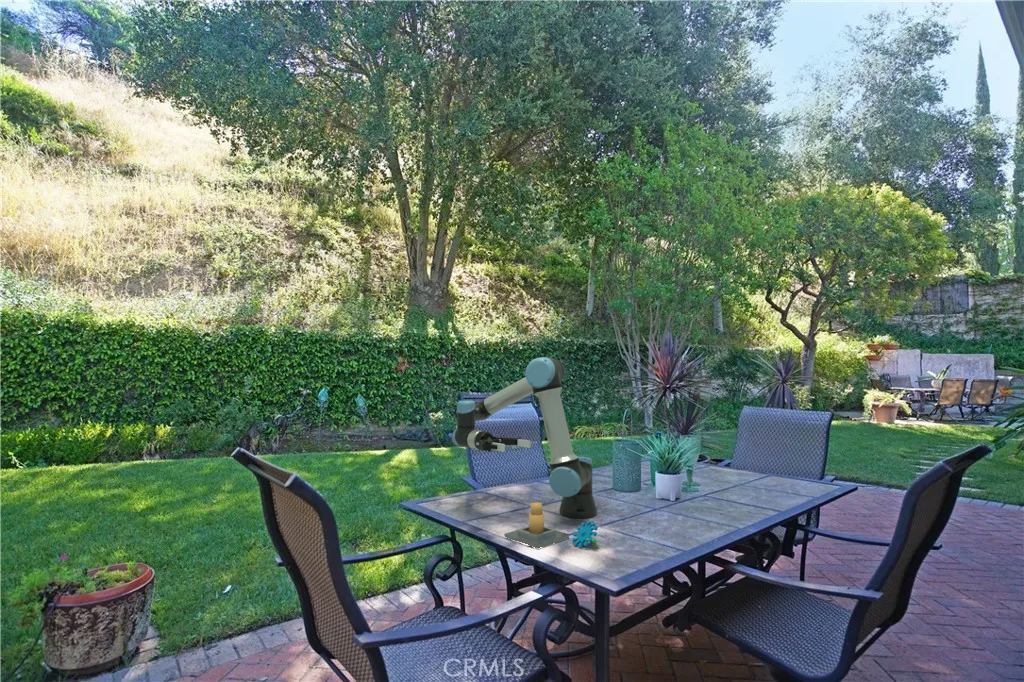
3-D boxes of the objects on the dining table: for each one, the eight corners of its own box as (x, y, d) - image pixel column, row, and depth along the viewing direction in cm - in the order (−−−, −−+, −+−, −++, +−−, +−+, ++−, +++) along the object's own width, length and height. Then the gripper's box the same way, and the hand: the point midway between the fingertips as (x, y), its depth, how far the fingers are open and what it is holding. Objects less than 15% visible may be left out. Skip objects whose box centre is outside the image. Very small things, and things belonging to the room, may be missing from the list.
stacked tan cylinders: (536, 530, 192) (536, 501, 193) (547, 534, 189) (546, 503, 189) (526, 533, 189) (525, 503, 189) (536, 537, 185) (536, 506, 186)
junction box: (536, 528, 200) (535, 520, 200) (569, 538, 188) (569, 529, 188) (504, 538, 189) (504, 529, 189) (537, 549, 177) (537, 540, 177)
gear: (566, 537, 185) (585, 515, 187) (576, 547, 187) (595, 525, 189) (581, 551, 175) (602, 528, 177) (592, 562, 177) (612, 539, 179)
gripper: (503, 446, 228) (540, 452, 212) (456, 453, 211) (492, 460, 195) (503, 428, 228) (539, 433, 213) (456, 434, 211) (492, 439, 196)
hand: (517, 446), depth 204 cm, fingers open, 13 cm apart
